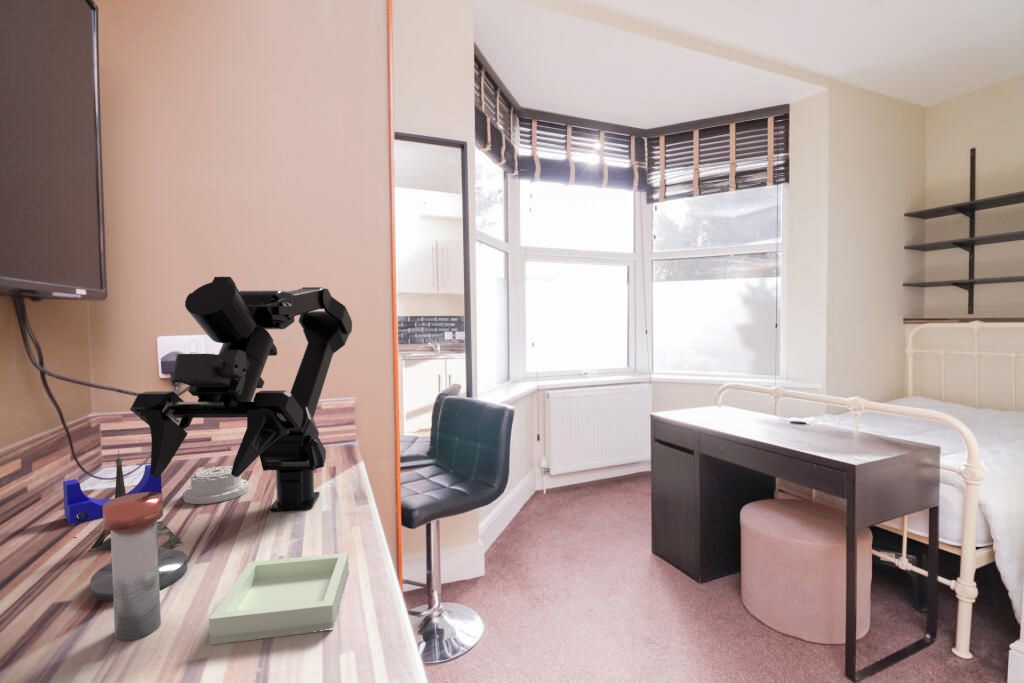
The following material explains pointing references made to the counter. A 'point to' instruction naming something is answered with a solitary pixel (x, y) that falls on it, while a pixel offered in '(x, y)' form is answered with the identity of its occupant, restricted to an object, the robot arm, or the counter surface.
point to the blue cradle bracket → (93, 507)
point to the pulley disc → (169, 573)
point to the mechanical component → (214, 486)
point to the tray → (281, 599)
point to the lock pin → (135, 563)
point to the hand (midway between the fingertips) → (194, 476)
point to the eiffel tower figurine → (106, 545)
